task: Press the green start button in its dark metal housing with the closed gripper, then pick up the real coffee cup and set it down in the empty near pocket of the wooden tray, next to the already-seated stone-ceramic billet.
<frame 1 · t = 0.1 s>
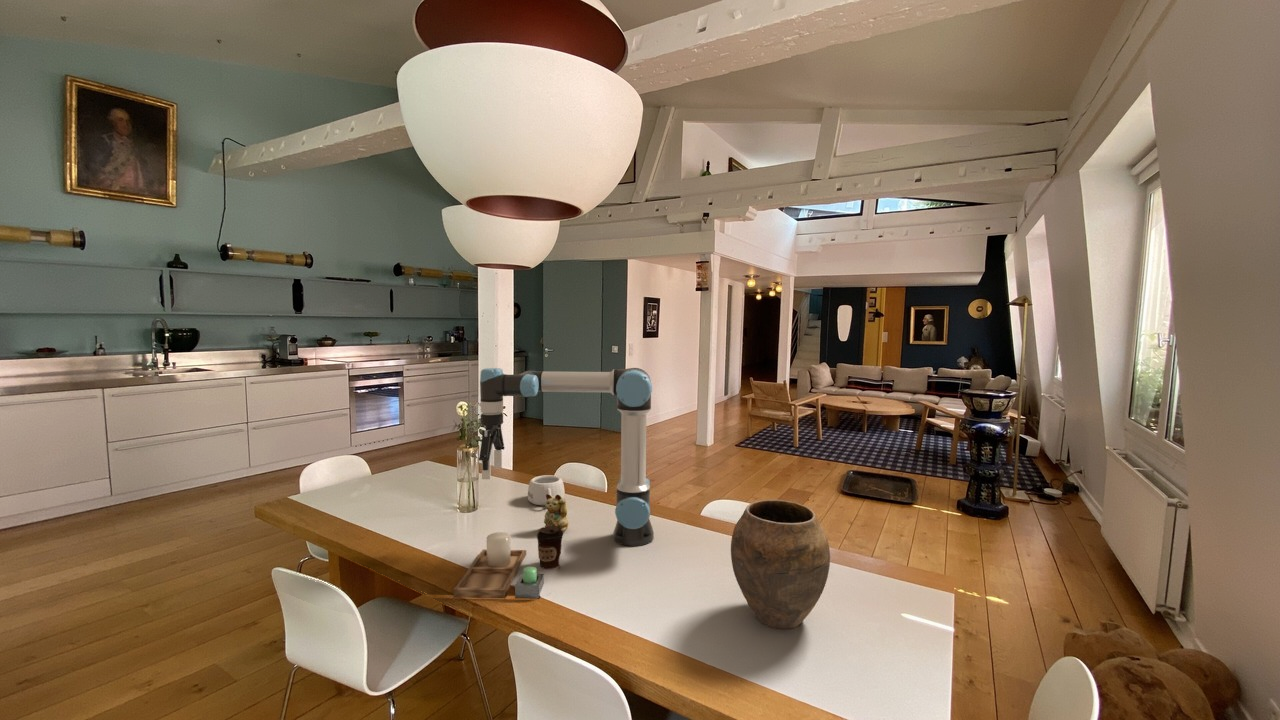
hand: (492, 473, 181), 28 cm above the table, fingers open, 13 cm apart
coffee cup: (549, 568, 171), on the table
start button: (529, 577, 154), point 5 cm above the table, slide at 0.0 cm
vase: (777, 617, 143), on the table
button housing: (529, 592, 155), on the table
mug: (546, 502, 234), on the table
wooden tray: (493, 575, 165), on the table
seated billet: (498, 563, 171), point 1 cm above the table, touching wooden tray
decorative figurine: (556, 531, 202), on the table
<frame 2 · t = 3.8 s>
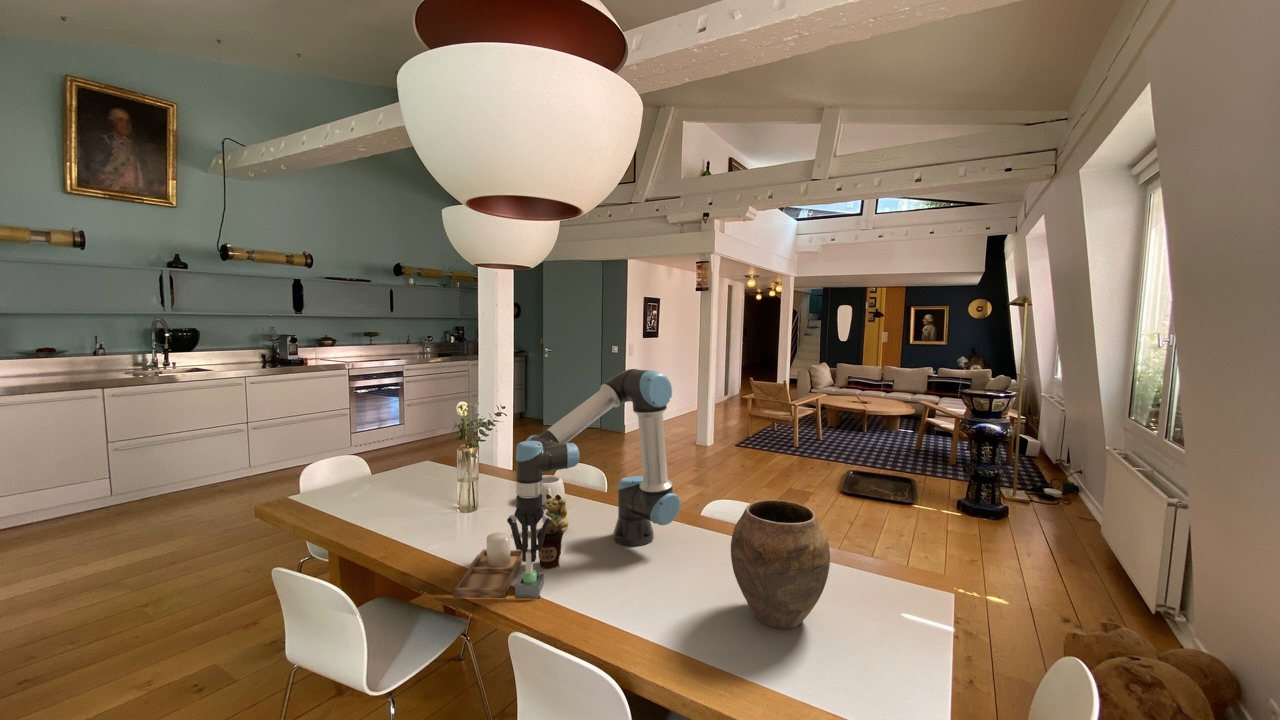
hand: (529, 571, 154), 6 cm above the table, fingers closed
start button: (529, 580, 154), point 4 cm above the table, slide at 0.9 cm, touching gripper
everything else where it was.
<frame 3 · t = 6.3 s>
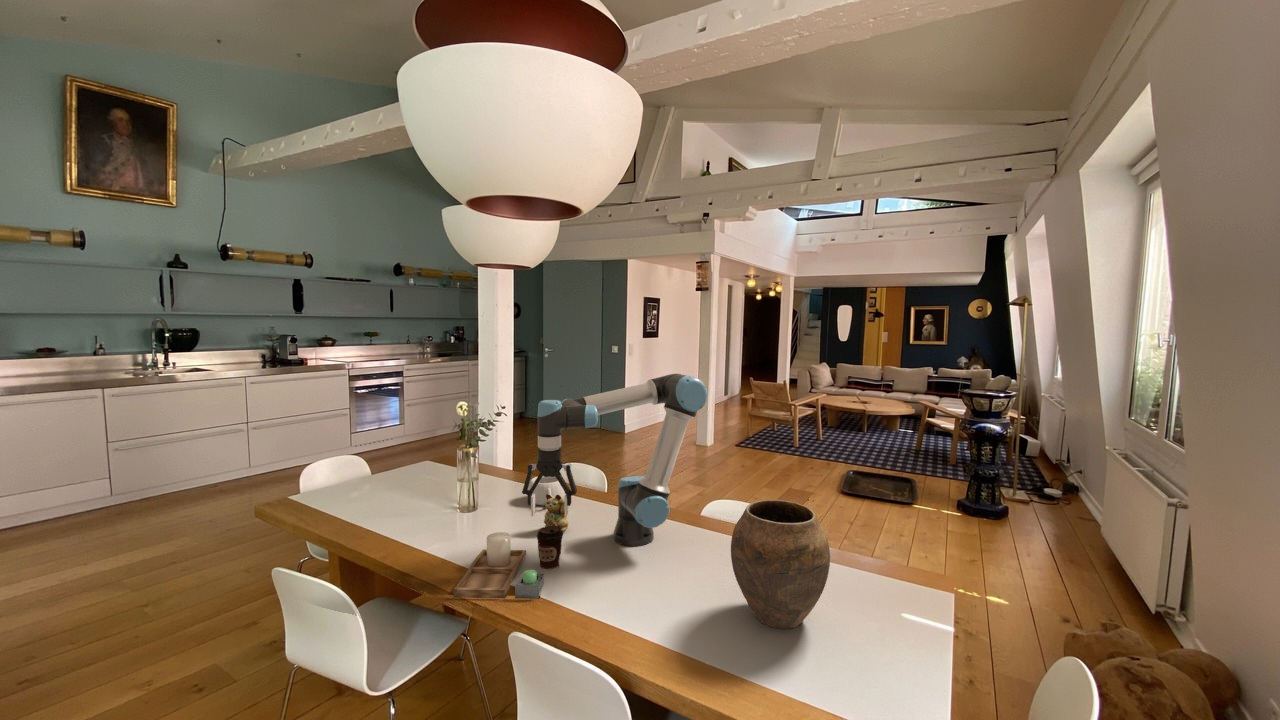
hand: (549, 514, 169), 18 cm above the table, fingers open, 10 cm apart
start button: (529, 580, 154), point 4 cm above the table, slide at 0.9 cm
everything else where it was.
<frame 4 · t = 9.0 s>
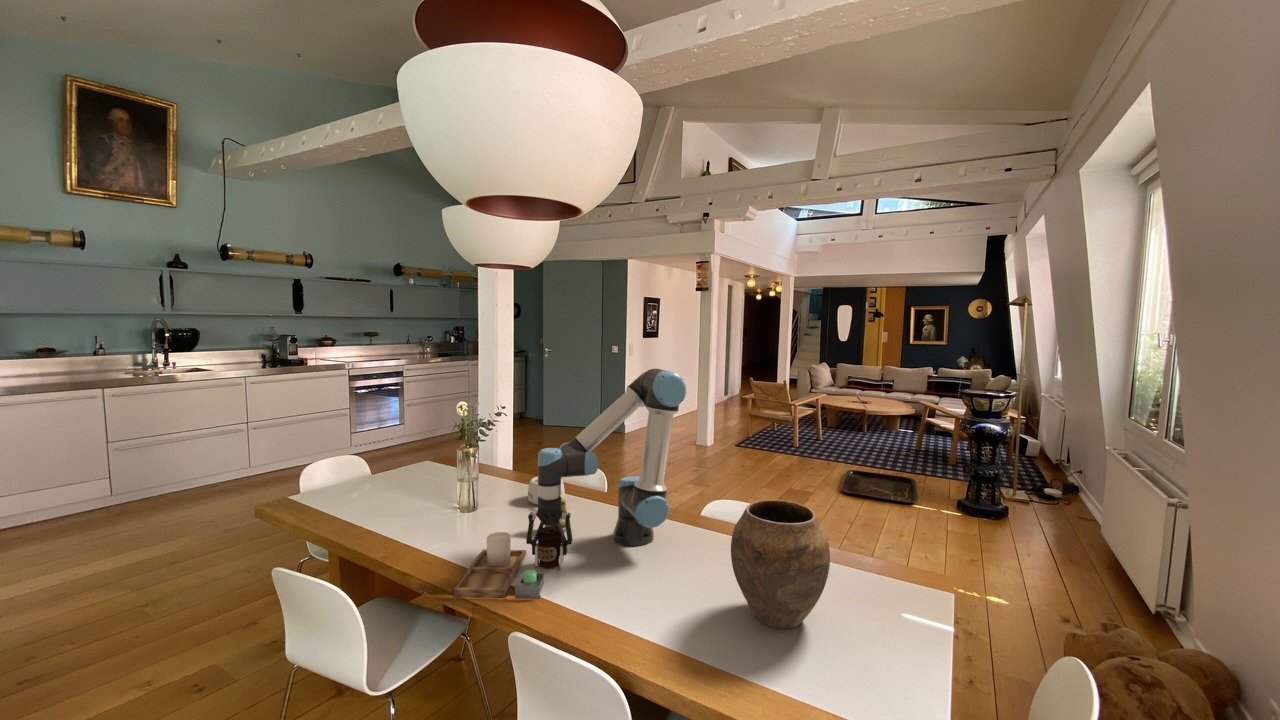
hand: (549, 564, 171), 1 cm above the table, fingers closed on coffee cup, 7 cm apart
coffee cup: (549, 568, 171), on the table, touching gripper
everything else where it was.
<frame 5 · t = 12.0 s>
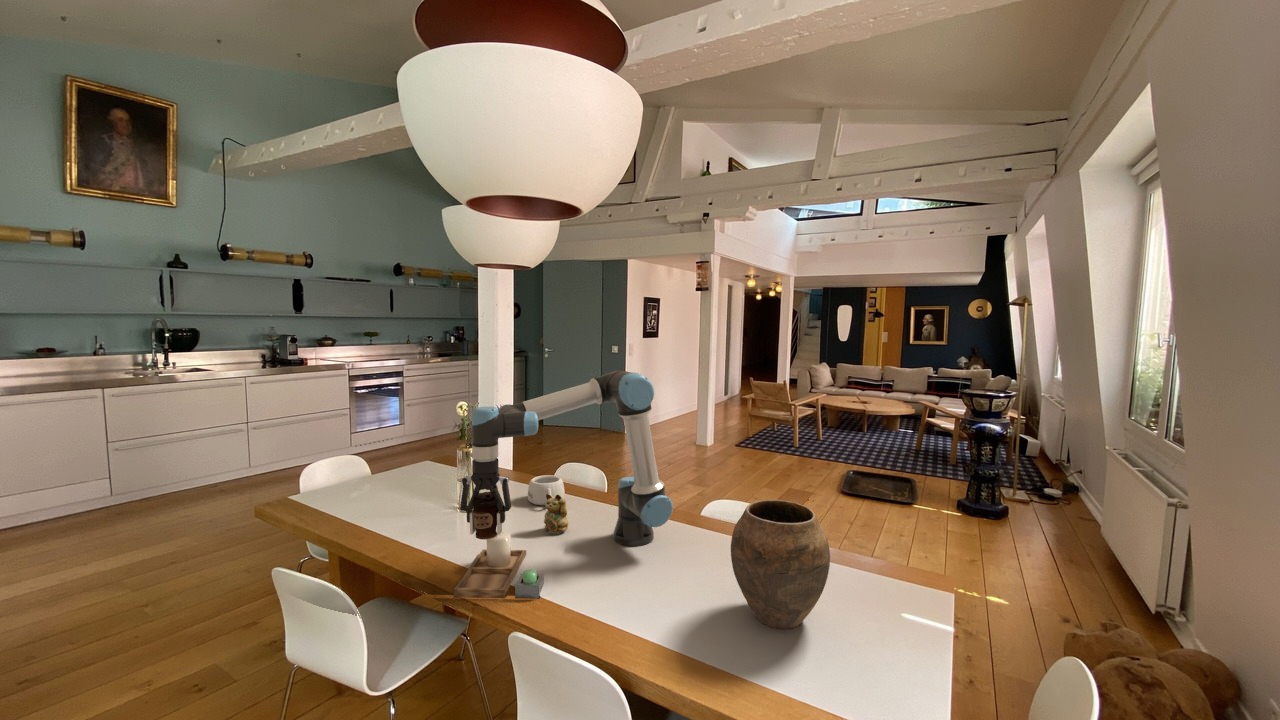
hand: (486, 532, 157), 17 cm above the table, fingers closed on coffee cup, 7 cm apart
coffee cup: (486, 537, 157), point 15 cm above the table, touching gripper
everything else where it was.
when the fingers open (5 cm above the table, at t = 14.9 s): coffee cup drops 2 cm, resting on wooden tray.
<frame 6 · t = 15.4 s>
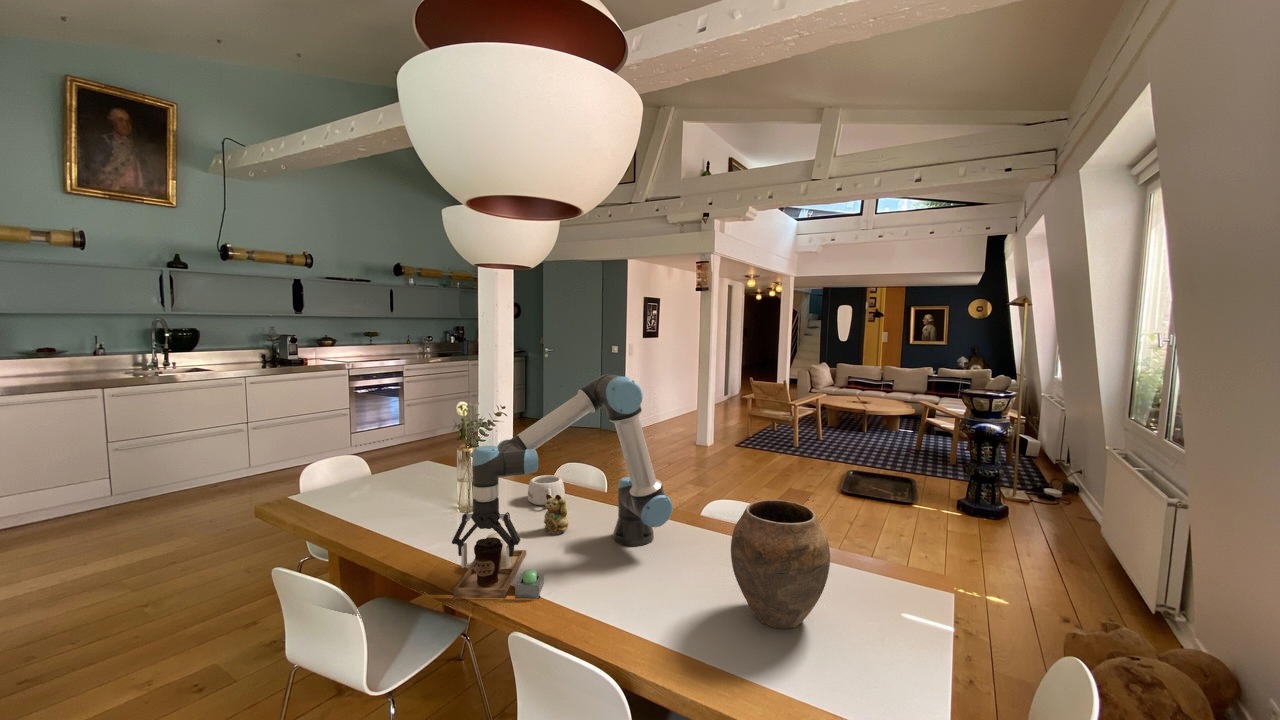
hand: (486, 566, 158), 6 cm above the table, fingers open, 13 cm apart
coffee cup: (488, 583, 158), point 1 cm above the table, touching wooden tray
everything else where it was.
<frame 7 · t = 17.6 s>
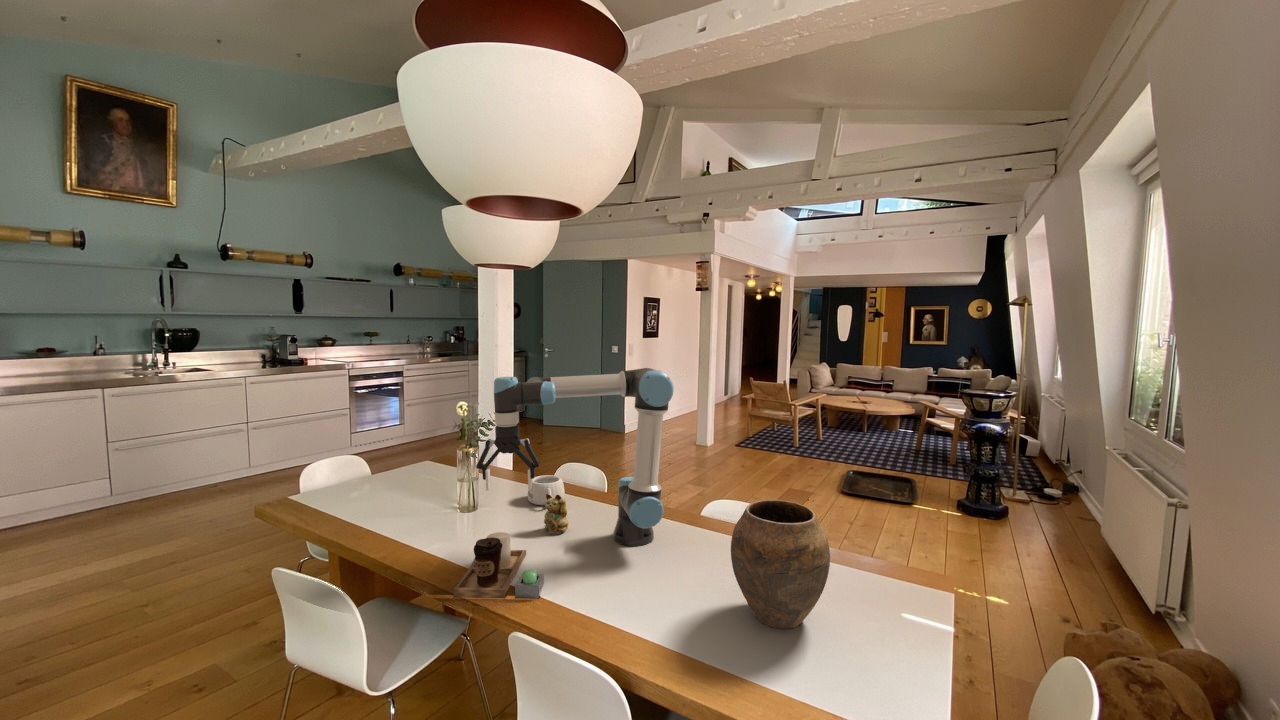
hand: (509, 488, 169), 26 cm above the table, fingers open, 13 cm apart
nothing on the table moved.
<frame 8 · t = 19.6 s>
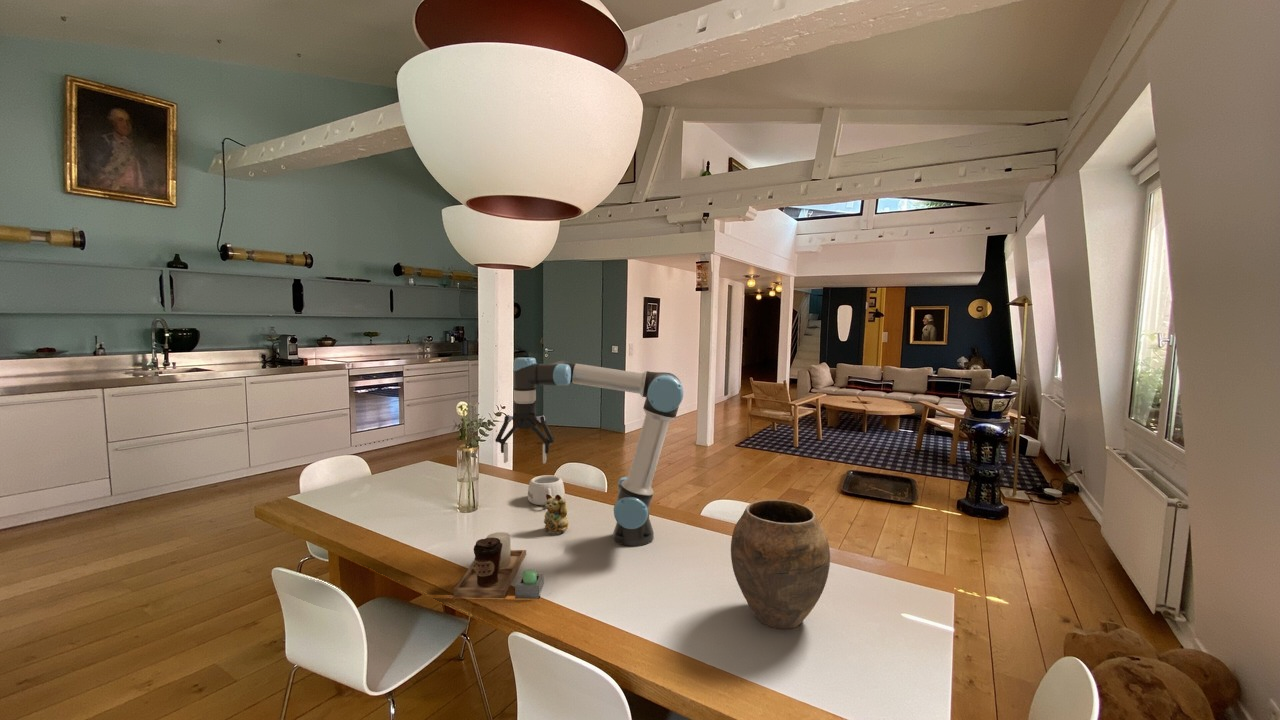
hand: (525, 462, 182), 32 cm above the table, fingers open, 13 cm apart
nothing on the table moved.
at the end: coffee cup inside the target area on the wooden tray (0.4 cm from its centre), point 0.8 cm above the wooden tray's base; coffee cup tilted 0°; start button slide at 0.9 cm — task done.
